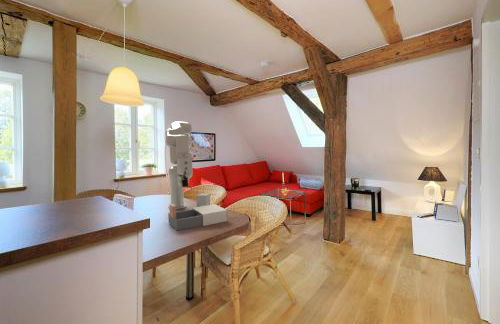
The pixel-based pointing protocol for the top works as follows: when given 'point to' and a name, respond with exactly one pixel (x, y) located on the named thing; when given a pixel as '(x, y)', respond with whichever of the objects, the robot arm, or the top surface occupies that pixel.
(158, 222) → the top surface
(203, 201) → the supplement box
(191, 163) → the robot arm
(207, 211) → the white drawer housing
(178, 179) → the sage block
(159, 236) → the top surface
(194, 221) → the tray
